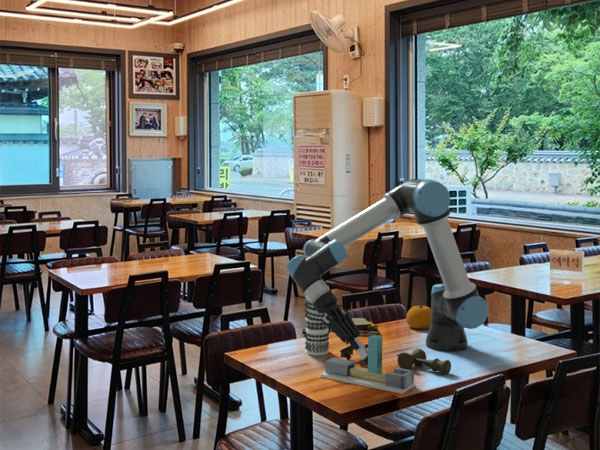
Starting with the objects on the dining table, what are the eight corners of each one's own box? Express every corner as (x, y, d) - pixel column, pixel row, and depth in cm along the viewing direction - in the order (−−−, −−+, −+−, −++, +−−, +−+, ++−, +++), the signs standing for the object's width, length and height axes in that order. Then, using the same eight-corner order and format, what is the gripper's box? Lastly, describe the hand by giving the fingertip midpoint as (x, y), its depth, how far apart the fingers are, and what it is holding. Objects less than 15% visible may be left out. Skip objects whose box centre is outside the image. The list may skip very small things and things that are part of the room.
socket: (385, 385, 224) (385, 373, 224) (395, 380, 230) (396, 367, 229) (403, 389, 221) (403, 376, 220) (413, 383, 226) (413, 370, 226)
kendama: (439, 380, 235) (387, 366, 248) (455, 374, 242) (404, 360, 255) (441, 361, 234) (388, 348, 247) (456, 356, 241) (404, 343, 255)
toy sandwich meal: (353, 338, 286) (353, 325, 285) (342, 329, 299) (343, 318, 298) (383, 336, 289) (384, 324, 288) (372, 328, 302) (372, 316, 301)
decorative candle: (316, 347, 271) (317, 279, 269) (335, 352, 265) (335, 282, 262) (298, 351, 265) (299, 282, 262) (317, 357, 258) (317, 286, 256)
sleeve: (325, 372, 237) (325, 361, 237) (333, 368, 241) (333, 357, 241) (346, 377, 233) (347, 365, 232) (354, 373, 237) (355, 361, 236)
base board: (320, 377, 236) (320, 373, 236) (335, 370, 243) (335, 367, 243) (401, 393, 220) (401, 390, 220) (415, 385, 227) (415, 382, 227)
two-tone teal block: (345, 374, 234) (345, 333, 233) (350, 372, 237) (350, 331, 235) (385, 382, 226) (385, 339, 225) (389, 380, 229) (390, 337, 227)
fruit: (438, 325, 305) (438, 301, 304) (431, 332, 294) (431, 307, 293) (410, 323, 309) (410, 299, 308) (402, 329, 299) (402, 304, 298)
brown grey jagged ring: (355, 370, 244) (344, 348, 246) (343, 376, 252) (332, 353, 254) (383, 356, 250) (372, 334, 252) (370, 362, 258) (359, 340, 260)
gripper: (325, 301, 245) (368, 358, 238) (303, 308, 235) (348, 368, 227) (339, 287, 242) (383, 345, 234) (317, 293, 231) (363, 354, 223)
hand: (366, 356), depth 230 cm, fingers closed
